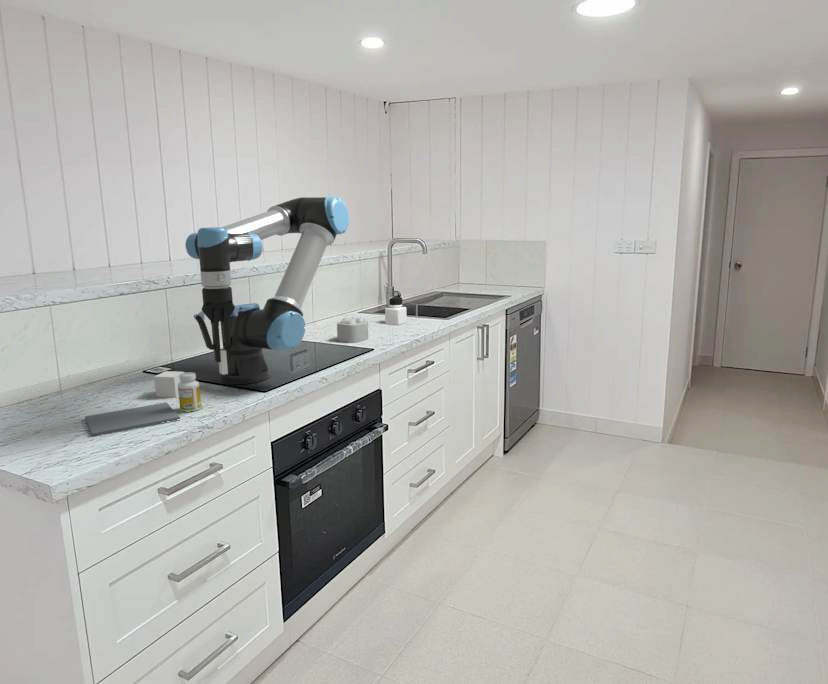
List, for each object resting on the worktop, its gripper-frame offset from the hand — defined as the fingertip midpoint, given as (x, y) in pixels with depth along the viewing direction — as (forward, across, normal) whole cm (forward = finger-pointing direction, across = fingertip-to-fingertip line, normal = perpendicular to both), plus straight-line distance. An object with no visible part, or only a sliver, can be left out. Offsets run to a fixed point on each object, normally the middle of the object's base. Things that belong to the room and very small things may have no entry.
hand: (223, 373), depth 172 cm
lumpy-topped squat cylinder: (+9, +68, +53) cm, 86 cm away
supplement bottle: (+9, -10, 0) cm, 13 cm away
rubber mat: (+9, -24, 0) cm, 25 cm away
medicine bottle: (+9, +99, +72) cm, 122 cm away
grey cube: (+9, -10, +18) cm, 23 cm away
